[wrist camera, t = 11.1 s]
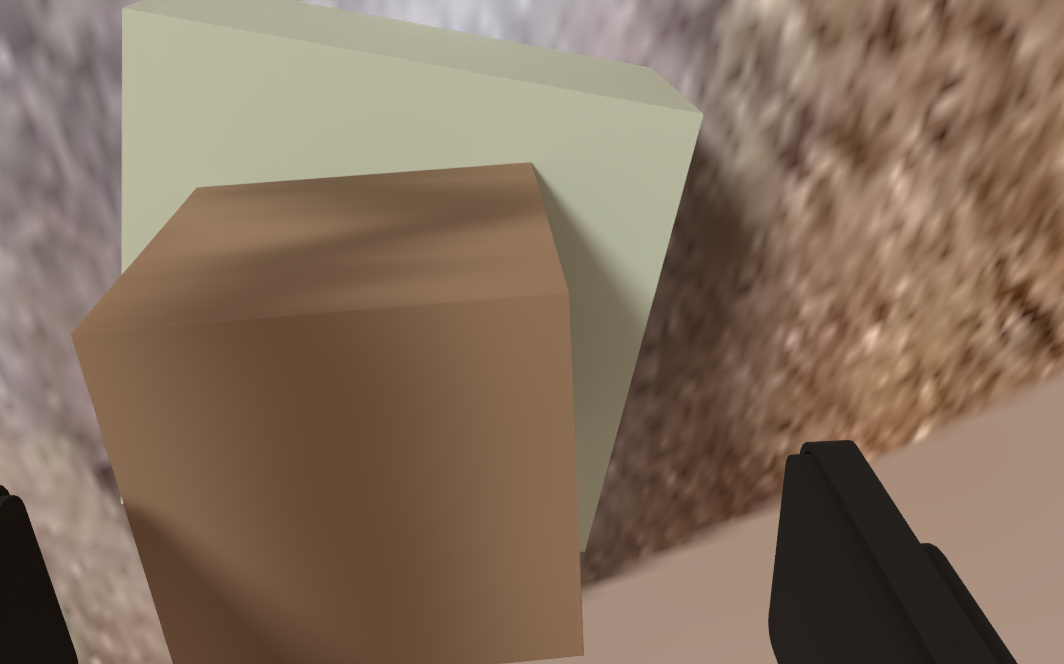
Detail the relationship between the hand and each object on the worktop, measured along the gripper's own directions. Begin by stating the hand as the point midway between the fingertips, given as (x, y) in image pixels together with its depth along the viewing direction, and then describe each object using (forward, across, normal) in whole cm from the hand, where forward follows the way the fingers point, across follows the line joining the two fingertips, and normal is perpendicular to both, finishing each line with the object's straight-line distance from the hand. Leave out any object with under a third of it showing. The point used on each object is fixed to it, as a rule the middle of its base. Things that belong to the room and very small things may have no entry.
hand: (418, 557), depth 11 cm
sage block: (+12, +1, 0) cm, 12 cm away
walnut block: (+7, +1, 0) cm, 7 cm away
